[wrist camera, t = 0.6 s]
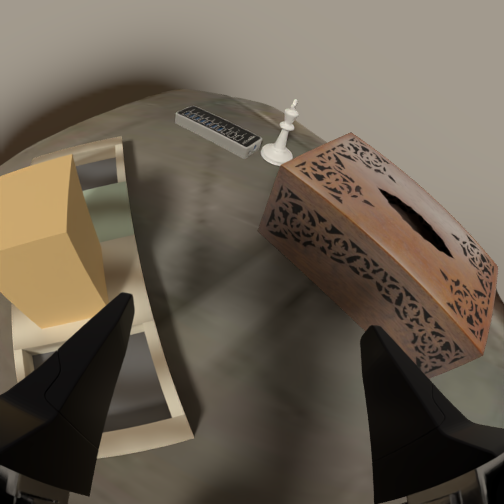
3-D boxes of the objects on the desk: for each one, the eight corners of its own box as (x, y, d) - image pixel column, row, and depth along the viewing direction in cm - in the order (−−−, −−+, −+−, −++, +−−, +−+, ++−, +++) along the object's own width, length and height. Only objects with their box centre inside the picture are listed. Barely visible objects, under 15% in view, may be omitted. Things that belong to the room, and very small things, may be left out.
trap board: (194, 436, 19) (194, 438, 17) (50, 460, 14) (37, 462, 12) (123, 150, 36) (121, 136, 34) (37, 171, 31) (32, 158, 29)
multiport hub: (191, 115, 45) (193, 104, 43) (260, 149, 42) (263, 138, 41) (173, 124, 43) (174, 112, 41) (244, 161, 40) (247, 148, 38)
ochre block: (110, 313, 21) (66, 232, 12) (41, 328, 19) (-29, 260, 10) (101, 246, 24) (72, 153, 16) (39, 261, 22) (-8, 179, 13)
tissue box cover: (450, 303, 33) (498, 267, 25) (416, 382, 25) (483, 355, 17) (323, 186, 40) (351, 132, 32) (257, 232, 33) (280, 164, 25)
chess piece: (295, 155, 43) (316, 102, 35) (286, 170, 40) (308, 112, 32) (267, 143, 43) (284, 89, 35) (255, 157, 40) (273, 98, 32)
